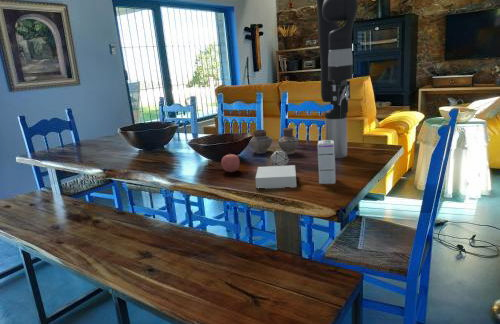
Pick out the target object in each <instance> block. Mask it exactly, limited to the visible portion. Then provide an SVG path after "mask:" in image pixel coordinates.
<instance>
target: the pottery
mask: <svg viewBox="0 0 500 324" xmlns="http://www.w3.org/2000/svg"><path fill="white" fill-rule="evenodd" d="M282 132H283V136H282V137H280V138H279V139H278V140H277V142H278V146H279V148H280V149H281V151H285V150H286V151H285V152H286V154H287V155H293V154H296V152H295V151H296V149H297V148H298V145H299V141H300V139H299V138H298V137H297V136H295V135H293V134H294V133H293V132H294V127H286V128H285V127H284V128H282ZM250 139H251V140H250ZM250 139H249V140H250V141H249V140H248V141H249V144H250V147H251V148H252V149H253V150H254V152H255V154H266V153H267V152H268V149H270V147H271V145H272V142H273V138H272V137H270V136H268V135H267V130H266V129H256V130H254V131H253V137H252V138H250Z"/></svg>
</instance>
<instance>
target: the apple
mask: <svg viewBox="0 0 500 324" xmlns="http://www.w3.org/2000/svg"><path fill="white" fill-rule="evenodd" d="M240 163H241V162H240V158H239V156H238V155H236V154H232V153H228V154H226V155H224V156H222V158H221V164H220V165H221V167H222V169H223V170H224V171H225V172H228V173H233V172H236V171H237V170H238V168H240Z"/></svg>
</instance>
